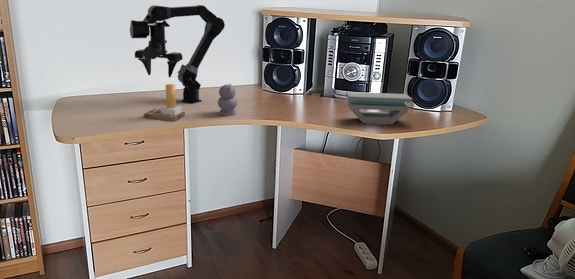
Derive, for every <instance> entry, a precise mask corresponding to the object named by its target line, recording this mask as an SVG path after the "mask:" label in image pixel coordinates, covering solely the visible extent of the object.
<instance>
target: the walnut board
mask: <svg viewBox="0 0 575 279" xmlns="http://www.w3.org/2000/svg"><path fill="white" fill-rule="evenodd" d="M184 117H186V112H185V111H181V113H179V114H177V115H175V116H174V115H166V114H161V108H160V109H159V108H153V109H151V110H149V111H147V112H145V113H143V118H145V119H153V120H160V121H169V122H177V121H179V120H181V119H182V118H184Z"/></svg>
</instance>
